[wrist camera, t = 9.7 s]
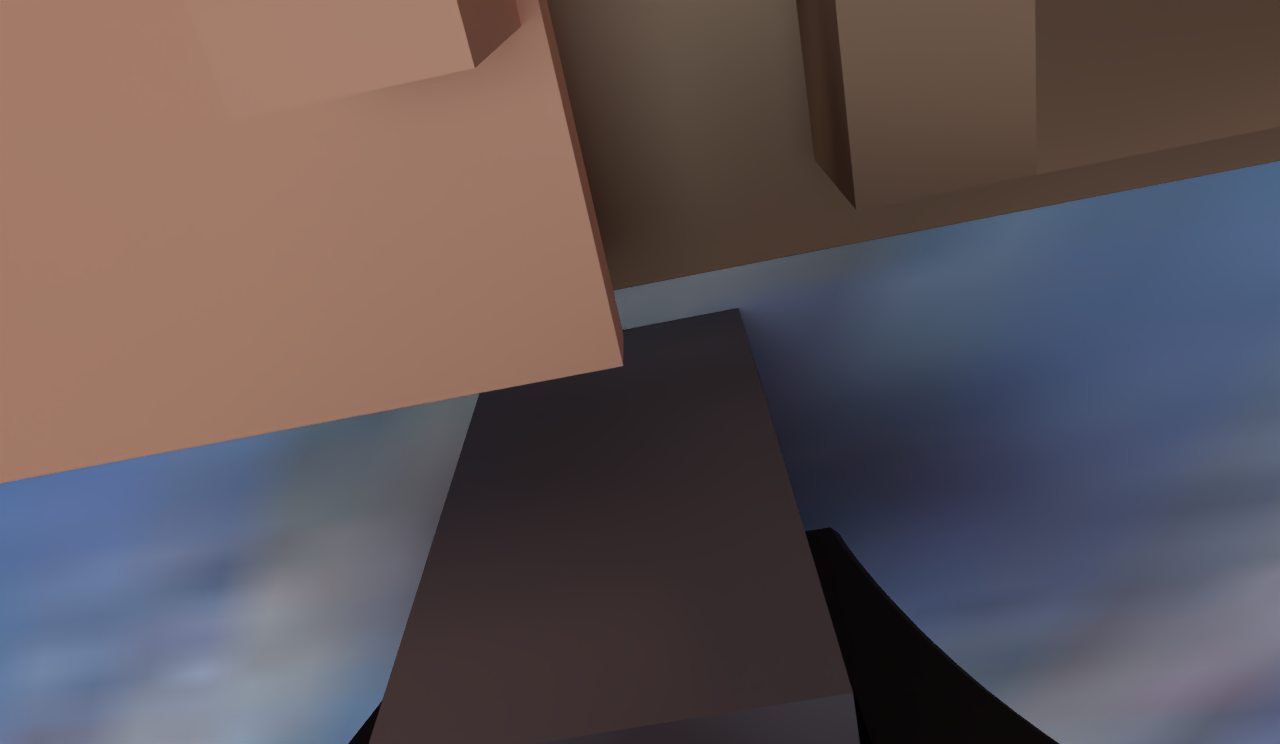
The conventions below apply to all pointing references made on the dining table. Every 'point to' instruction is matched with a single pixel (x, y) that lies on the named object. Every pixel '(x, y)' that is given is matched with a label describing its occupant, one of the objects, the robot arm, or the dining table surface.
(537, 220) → the panel
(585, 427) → the plug
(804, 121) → the socket
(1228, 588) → the dining table surface
